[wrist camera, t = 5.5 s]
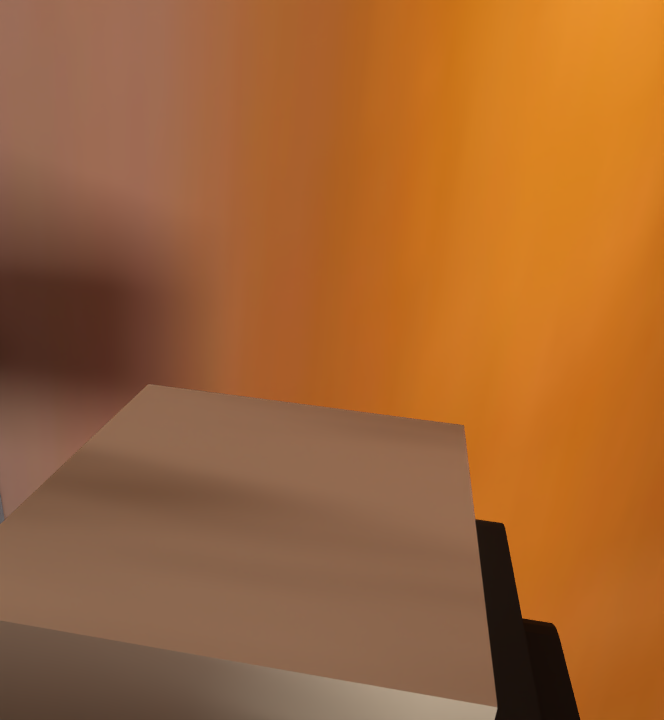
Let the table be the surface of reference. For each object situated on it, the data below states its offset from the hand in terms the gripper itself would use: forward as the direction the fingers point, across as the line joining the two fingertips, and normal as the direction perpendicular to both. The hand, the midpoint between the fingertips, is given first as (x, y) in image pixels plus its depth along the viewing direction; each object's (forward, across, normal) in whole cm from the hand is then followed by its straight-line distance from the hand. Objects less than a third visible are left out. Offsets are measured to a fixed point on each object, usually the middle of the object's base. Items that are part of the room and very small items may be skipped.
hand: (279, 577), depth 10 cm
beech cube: (+1, 0, 0) cm, 1 cm away
